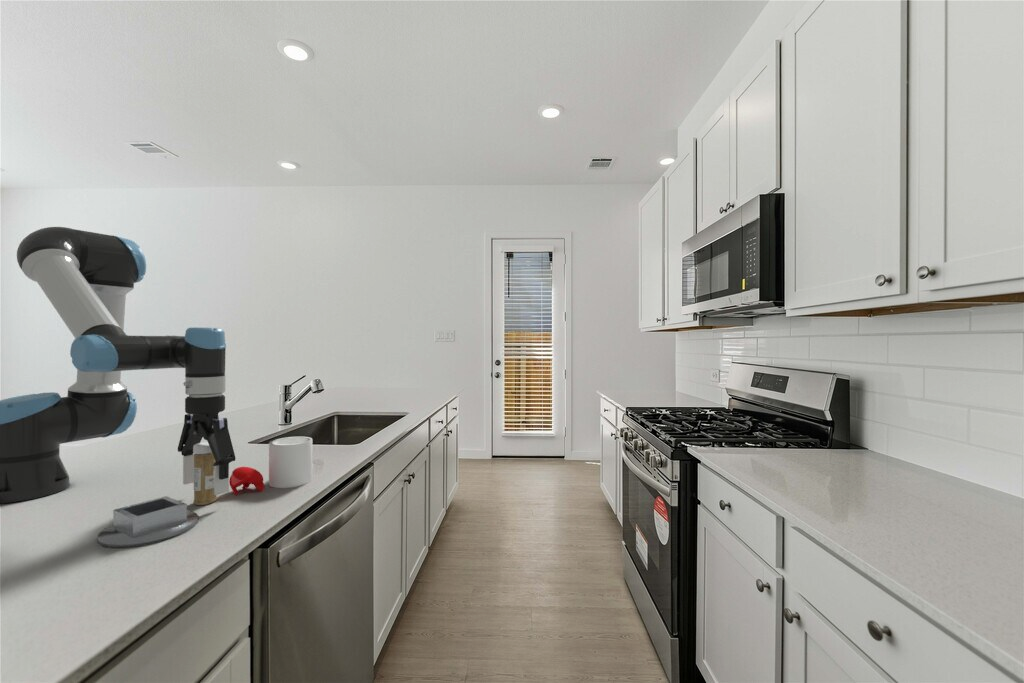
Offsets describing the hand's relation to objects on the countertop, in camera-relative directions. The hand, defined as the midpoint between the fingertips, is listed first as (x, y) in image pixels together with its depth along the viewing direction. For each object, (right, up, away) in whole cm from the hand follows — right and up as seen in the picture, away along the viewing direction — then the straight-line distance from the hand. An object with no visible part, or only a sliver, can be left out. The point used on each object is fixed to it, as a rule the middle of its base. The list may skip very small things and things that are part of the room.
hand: (205, 487), depth 101 cm
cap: (+5, -4, +7) cm, 10 cm away
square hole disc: (0, -3, -15) cm, 15 cm away
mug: (+12, -3, +16) cm, 20 cm away
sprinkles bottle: (0, -3, 0) cm, 3 cm away
